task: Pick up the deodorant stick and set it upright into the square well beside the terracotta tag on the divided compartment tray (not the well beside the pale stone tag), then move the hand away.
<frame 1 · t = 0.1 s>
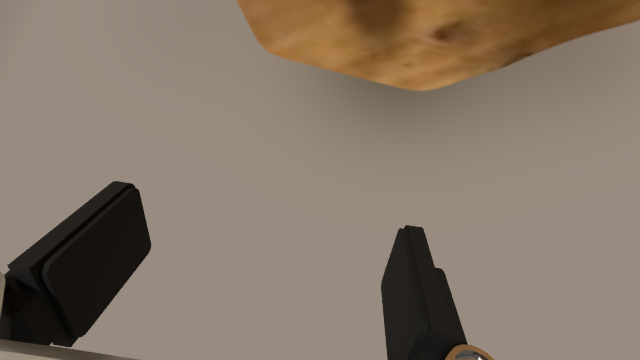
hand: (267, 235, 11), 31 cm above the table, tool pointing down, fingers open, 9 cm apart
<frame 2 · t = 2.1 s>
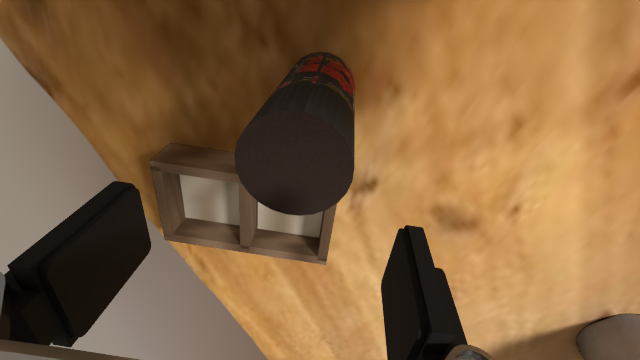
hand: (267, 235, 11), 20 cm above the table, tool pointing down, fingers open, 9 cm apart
deodorant: (321, 86, 28), on the table
divided compartment tray: (254, 194, 35), on the table
pillar candle: (615, 334, 42), on the table
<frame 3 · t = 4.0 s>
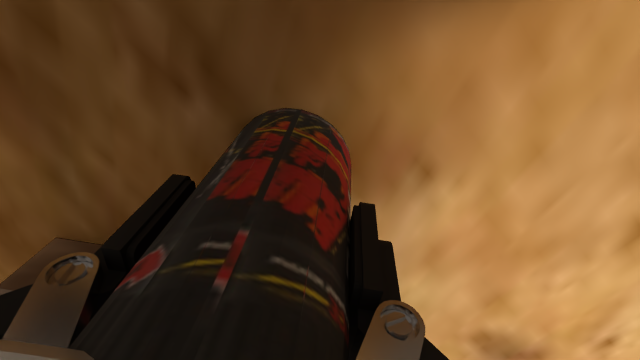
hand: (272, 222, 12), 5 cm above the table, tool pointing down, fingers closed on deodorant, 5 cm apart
deodorant: (292, 163, 16), on the table, touching gripper
divided compartment tray: (198, 307, 23), on the table
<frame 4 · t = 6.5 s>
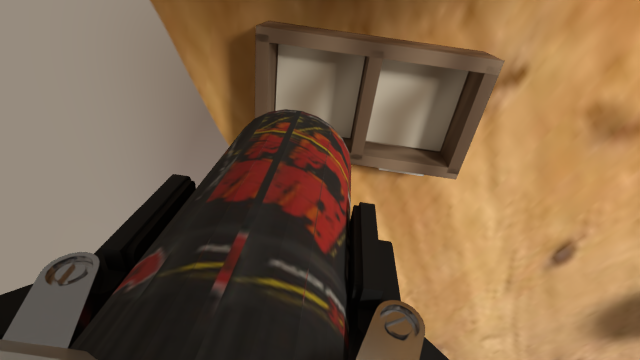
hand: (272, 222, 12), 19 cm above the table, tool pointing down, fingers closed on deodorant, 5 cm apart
deodorant: (292, 164, 16), point 15 cm above the table, touching gripper
divided compartment tray: (364, 95, 28), on the table
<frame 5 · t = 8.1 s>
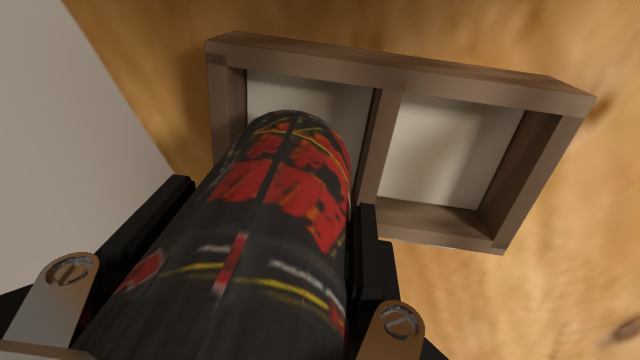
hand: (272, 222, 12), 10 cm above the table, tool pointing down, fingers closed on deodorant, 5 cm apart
deodorant: (292, 164, 16), point 5 cm above the table, touching gripper
divided compartment tray: (372, 134, 20), on the table
when the fingers open (7 cm above the table, at t = 9.2 s): deodorant drops 1 cm, resting on divided compartment tray.
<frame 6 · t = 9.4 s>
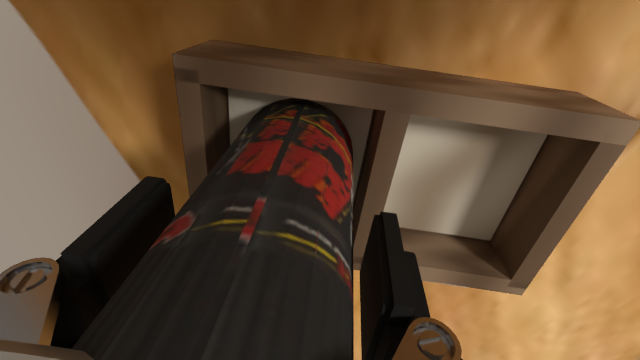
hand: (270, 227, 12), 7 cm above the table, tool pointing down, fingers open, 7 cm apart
deodorant: (298, 151, 17), point 1 cm above the table, touching divided compartment tray
divided compartment tray: (372, 156, 18), on the table
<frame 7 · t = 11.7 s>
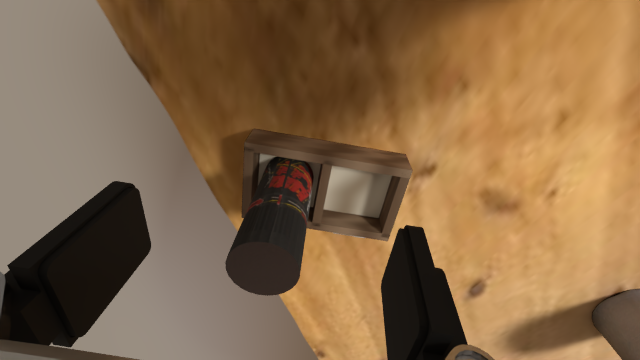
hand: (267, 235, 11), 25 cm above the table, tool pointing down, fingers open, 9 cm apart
deodorant: (289, 175, 38), point 1 cm above the table, touching divided compartment tray
divided compartment tray: (323, 178, 39), on the table
pillar candle: (625, 308, 48), on the table
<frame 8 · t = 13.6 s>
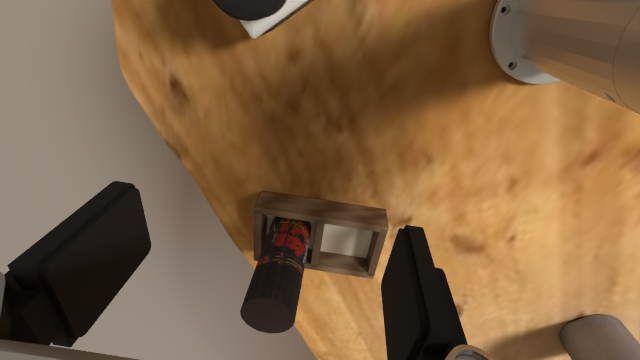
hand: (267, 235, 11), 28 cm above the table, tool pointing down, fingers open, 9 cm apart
deodorant: (291, 226, 47), point 1 cm above the table, touching divided compartment tray
divided compartment tray: (319, 226, 47), on the table
pillar candle: (589, 329, 54), on the table
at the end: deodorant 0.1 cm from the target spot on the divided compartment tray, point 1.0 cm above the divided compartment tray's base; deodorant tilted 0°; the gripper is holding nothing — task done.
